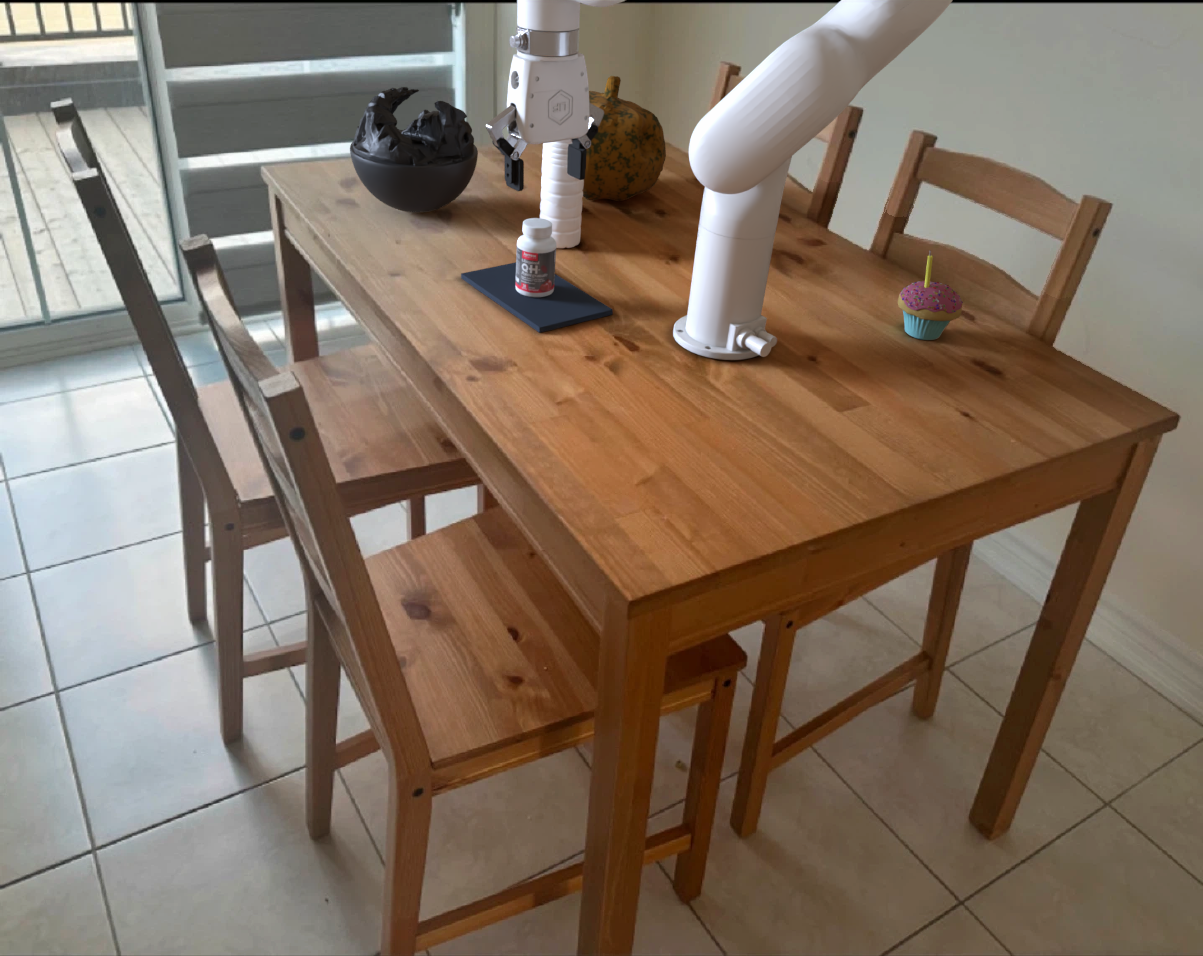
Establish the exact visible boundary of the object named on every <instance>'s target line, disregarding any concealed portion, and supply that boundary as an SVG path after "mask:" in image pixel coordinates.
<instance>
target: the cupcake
mask: <svg viewBox="0 0 1203 956" xmlns="http://www.w3.org/2000/svg"><path fill="white" fill-rule="evenodd" d="M928 252H929V254H928V255H927V259H926V268H925V277H924V280H922V281H915V282H911V283H910V284H909V285H906V286H905V287H902V290H900V292H899V295H898V298H897V304H898V305H897V306H898V308H899V309H900V310H902V312H903V322H904V323H903V324H904V332H905V333H906V334H907V335H909V336H910V337H912V338H915V339H917V340H921V341H922V340H923V341H935V340H938V339H939V338H940V336H941V335H942V333H943V332H944V330H945V329H946V328H947V326H948V325H949V323H950V322H951V321H954V320H956V319H959V318H960V317H961V315H962V310H963V303H964V302H963V300H962V298H961V297H960V295H959V294H958V292H956V291H955V290H954V288H952V287H951V286H949V284H944V283H942V282H939V281H931V277H932V268H933V259H934V256H933V255H932V250H929V251H928Z"/></svg>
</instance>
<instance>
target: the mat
mask: <svg viewBox="0 0 1203 956" xmlns="http://www.w3.org/2000/svg"><path fill="white" fill-rule="evenodd" d="M460 279H461V280H462V281H464V282H466V283H467V284H468V285H470V286H471V287H472V288H474V289H476V290H477V291H479V293H482V294H483V295H484V296H486V297H487V298H488V299H490V300H491V301H492V302H494V303H496V304H497V305H498V306H500V307H502V308H503V309H504V310H505V311H507V312H509V313H510V314H512V315H513V316H514V317H516V318H517V319H518V320H520V321H522V322H523V323H524V324H526V325H528V326H529V327H530V328H532V329H533V330H534V331H536V332H538V333H539V334H541V333H544V332H545V333H546V332H548V331H552V330H557V329H560V328H561V329H562V328H565V327H569V326H573V325H576V324H577V325H578V324H581V323H585V322H589V321H593V320H597V319H600V318H605V317H608V316H612V315H613V314H614V313H613V312H614V309H613V308H612V307H609V305H607V304H605V303H603V302H601V301H600V300H598V299H597V298H595V297H593V296H592V295H590V294H589V293H587V292H585V291H584V290H582V289H580V288H579V287H577V286H576V285H574V284H572V283H571V282H569V281H567V280H566V279H564V278H562V277H561V276H559V275H558V274H556V273H555V280H554V291H553V293H552V294H550V295H548V296H545V297H528V296H525V295H522V294H520V293H519V292H517V290H516V286H515V285H516V261H515V262H511V263H505V264H501V265H496V266H491V267H486V268H481V269H476V270H471V271H467V272H462V273H460Z"/></svg>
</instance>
